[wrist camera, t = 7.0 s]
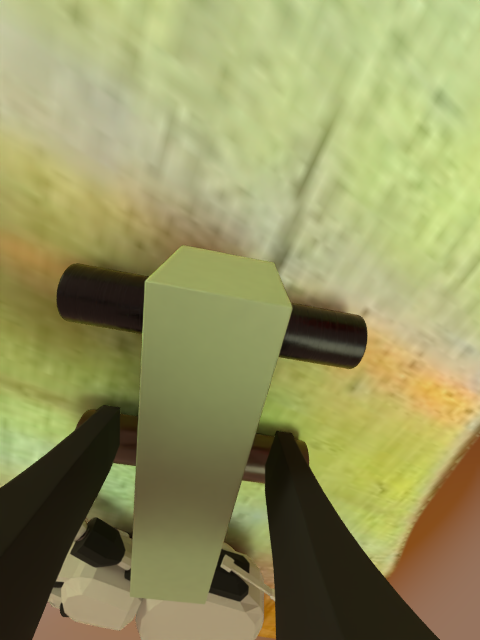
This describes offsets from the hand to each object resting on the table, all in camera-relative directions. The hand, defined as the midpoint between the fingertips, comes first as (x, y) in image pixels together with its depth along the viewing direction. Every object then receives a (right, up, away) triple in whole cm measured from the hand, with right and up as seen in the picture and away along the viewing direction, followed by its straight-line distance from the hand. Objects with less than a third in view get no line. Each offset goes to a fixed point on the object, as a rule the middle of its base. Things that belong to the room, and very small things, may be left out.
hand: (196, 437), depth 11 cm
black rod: (+1, +5, +2) cm, 6 cm away
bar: (0, +1, +1) cm, 2 cm away
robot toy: (-4, -13, +11) cm, 18 cm away
